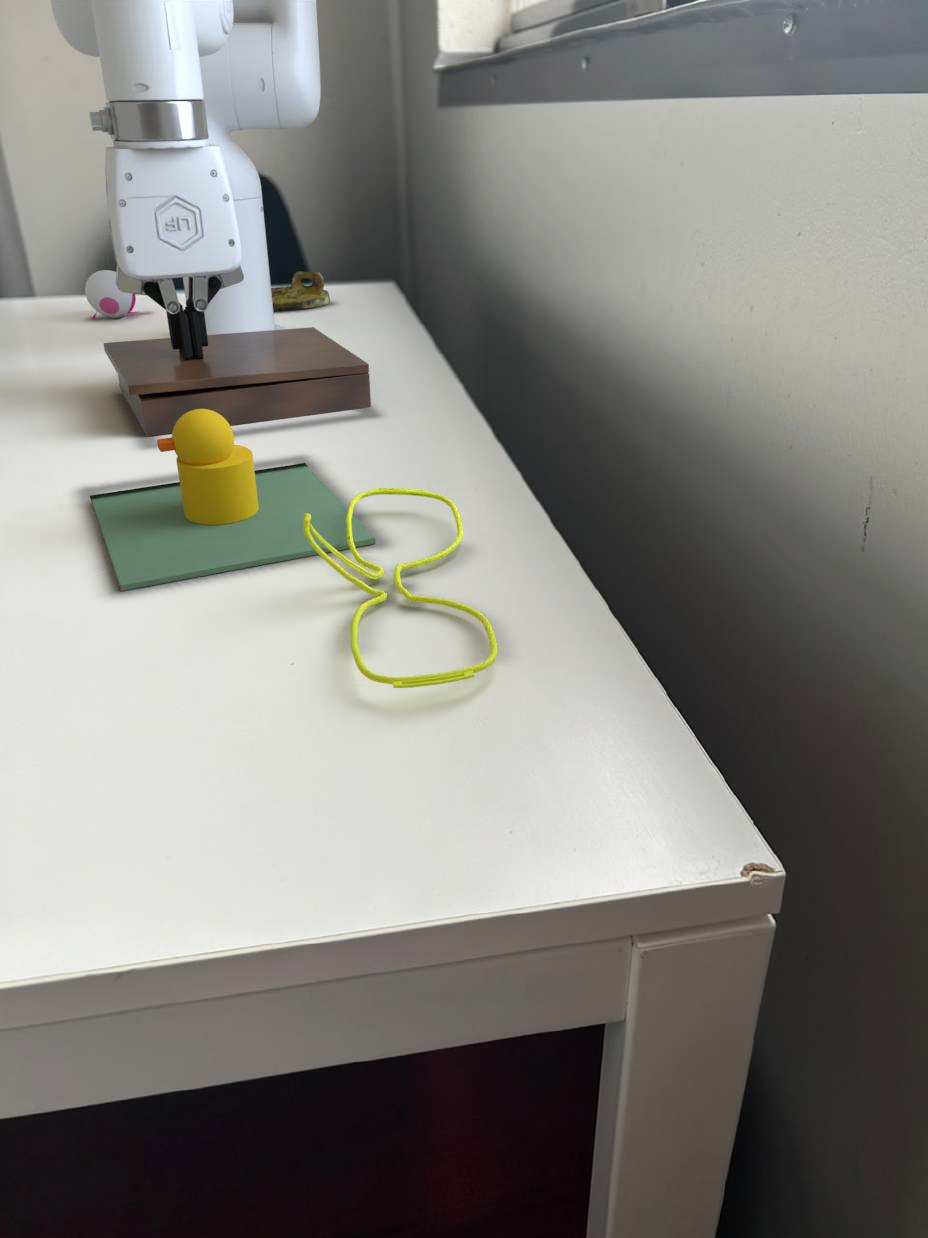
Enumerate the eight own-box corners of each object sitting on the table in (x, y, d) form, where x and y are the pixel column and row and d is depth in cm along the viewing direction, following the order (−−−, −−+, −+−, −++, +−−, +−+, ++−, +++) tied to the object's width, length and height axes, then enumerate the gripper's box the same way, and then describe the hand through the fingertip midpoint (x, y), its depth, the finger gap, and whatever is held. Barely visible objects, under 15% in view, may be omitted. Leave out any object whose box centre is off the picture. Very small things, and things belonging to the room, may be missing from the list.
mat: (87, 491, 73) (86, 486, 73) (298, 459, 78) (297, 454, 78) (121, 591, 58) (119, 585, 58) (375, 543, 64) (375, 537, 64)
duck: (249, 493, 71) (237, 394, 68) (266, 517, 67) (255, 414, 64) (164, 506, 69) (147, 405, 65) (177, 532, 65) (160, 426, 61)
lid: (129, 395, 79) (128, 385, 79) (104, 351, 93) (103, 342, 92) (369, 372, 87) (368, 363, 87) (314, 334, 100) (313, 326, 100)
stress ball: (140, 345, 127) (163, 299, 126) (81, 315, 122) (104, 266, 121) (125, 332, 133) (147, 287, 132) (68, 303, 128) (90, 256, 126)
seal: (216, 322, 129) (331, 316, 131) (211, 285, 126) (329, 280, 128) (219, 300, 136) (328, 294, 138) (214, 265, 134) (325, 260, 136)
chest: (148, 446, 82) (141, 401, 80) (121, 395, 95) (114, 356, 93) (371, 415, 89) (369, 373, 87) (317, 372, 102) (314, 335, 100)
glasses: (509, 700, 48) (513, 614, 45) (304, 712, 47) (296, 625, 44) (452, 501, 69) (453, 435, 67) (311, 506, 68) (306, 440, 66)
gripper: (65, 130, 74) (109, 375, 82) (262, 126, 79) (284, 356, 88) (57, 127, 80) (99, 356, 88) (240, 123, 85) (263, 339, 94)
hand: (191, 355), depth 88 cm, fingers closed
